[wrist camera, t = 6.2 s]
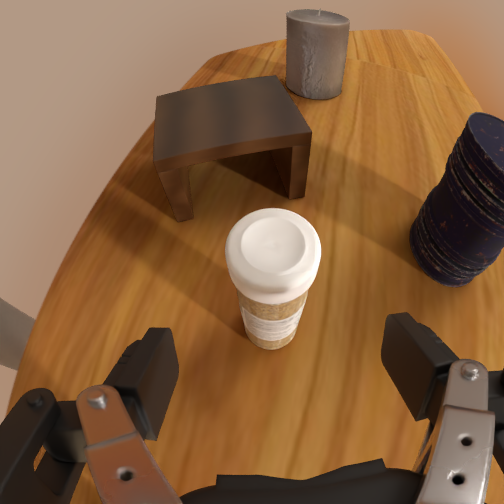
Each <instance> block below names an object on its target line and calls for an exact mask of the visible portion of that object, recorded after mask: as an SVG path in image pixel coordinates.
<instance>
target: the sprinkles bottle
mask: <svg viewBox="0 0 504 504" xmlns="http://www.w3.org/2000/svg"><path fill="white" fill-rule="evenodd" d="M225 256H226V262H227V266H228V270H229V274H230V277H231V279H232V282H233V283H234V285H235V286H236V288H237V294H238V298H239V305H240V310H241V314H242V317H243V321H244V324H245V331H246V334H247V336H248V337H249V339H250V340H251V341H252V342H253V343H254V344H255V345H256V346H258V347H261V348H263V349H268V350H273V349H278V348H281V347H283V346H285V345H287V344H288V343H289V342H290V341H291V340H292V339H293V337H294V335H295V333H296V329H297V324H298V322H299V319H300V317H301V313H302V310H303V307H304V304H305V301H306V298H307V294H308V288H309V287H310V286H311V284H312V283H313V281H314V279H315V277H316V273H317V270H318V267H319V262H320V258H321V245H320V240H319V237H318V235H317V233H316V231H315V229H314V228H313V227H312V225H311V224H310V223H309V222H308V221H307V220H306V219H304V218H303V217H301V216H300V215H298V214H296V213H294V212H292V211H288V210H285V209H278V208H267V209H261V210H258V211H254V212H252V213H250V214H248V215H246V216H244V217H243V218H242V219H240V220H239V221H238V222H237V223H236V224H235V225H234V226H233V228H232V229H231V231H230V233H229V235H228V237H227V240H226V245H225Z"/></svg>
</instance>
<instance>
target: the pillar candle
mask: <svg viewBox="0 0 504 504" xmlns="http://www.w3.org/2000/svg"><path fill="white" fill-rule="evenodd" d="M286 15H287V49H286V86H287V87H288V88H289V89H290V90H291V91H293V92H294V93H296V94H297V95H299V96H302V97H306V98H311V99H329V98H333V97H336V96H338V95H339V94H340V93H341V88H342V81H343V75H344V69H345V62H346V53H347V45H348V36H349V24H350V21H349V19H347V18H346V17H344V16H342V15H339V14H335V13H332V12H327V11H321V9H320V10H310V9H307V10H306V9H305V10H294V11H289V12H287V14H286Z"/></svg>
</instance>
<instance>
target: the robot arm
mask: <svg viewBox="0 0 504 504" xmlns="http://www.w3.org/2000/svg"><path fill="white" fill-rule="evenodd" d="M381 359H382V363H383V365H384V367H385V369H386V370H387V372H388V374H389V376H390V377H391V379H392V381H393V382H394V384H395V386H396V387H397V389H398V391H399V393H400V394H401V396H402V398H403V400H404V401H405V403H406V405H407V407H408V408H409V410H410V412H411V414H412V416H413V417H414V419H415V421H419V420H423V419H426V418H428V419H429V420H430V422H429V424H428V427H427V429H426V432H425V436H424V439H423V442H422V445H421V448H420V450H419V453H418V456H417V459H416V461H415V464H414V466H413V469H412V471H410V470H405V469H398V468H386V467H385V464H384V462H383V459H382V458H381V459H377V460H372V461H368V462H363V463H358V464H353V465H348V466H343V467H341V468H338V469H336V470H333V471H330V472H327V473H325V474H322V475H319V476H316V477H313V478H310V479H306V480H293V479H284V478H277V477H270V476H263V475H217V479H216V485H214V486H208V487H204V488H200V489H197V490H194V491H191V492H189V493H187V494H185V495H182V496H181V497H178V496H177V494H176V493H175V491H174V490H173V488H172V487H171V485H170V484H169V482H168V481H167V479H166V478H165V476H164V474H163V473H162V471H161V470H160V468H159V466H158V465H157V463H156V461H155V460H154V458H153V456H152V455H151V453H150V451H149V450H148V448H147V446H146V444H145V443H144V439H147V440H155V441H157V438H158V435H159V432H160V429H161V426H162V423H163V420H164V417H165V414H166V411H167V408H168V405H169V402H170V399H171V396H172V394H173V391H174V388H175V385H176V382H177V379H178V375H179V364H178V359H177V355H176V350H175V345H174V340H173V335H172V331H171V329H170V328H149V329H148V331H147V332H146V334H145V335H144V337H143V338H142V340H136V341H135V342H134V343H132V344H131V345H129V346H128V347H127V348H126V350H125V351H124V353H123V354H122V357H120V359H119V360H118V362H117V364H116V365H115V366H114V368H113V369H112V371H111V372H110V374H109V375H108V377H107V378H106V380H105V381H104V383H103V384H102V385H95V386H91V387H89V388H87V389H85V390H83V391H82V392H81V393H80V394H79V395H78V397H77V399H76V401H58V402H57V401H56V399H55V397H54V395H53V393H52V392H51V391H50V390H48V389H45V388H37V389H33V390H30V391H28V392H27V393H25V394H24V395H23V396H22V397H21V398H20V399H19V401H18V402H17V403H16V405H15V406H14V407H13V408H12V410H11V411H10V412H9V414H8V415H7V416H6V418H5V419H4V421H3V422H2V423H1V425H0V504H69V503H70V501H71V498H72V495H73V493H74V490H75V488H76V485H77V483H78V480H79V478H80V475H81V473H82V470H83V468H84V466H85V463H86V462H88V465H89V468H90V471H91V474H92V477H93V480H94V482H95V485H96V488H97V490H98V493H99V495H100V498H101V500H102V503H103V504H487V503H484V501H485V496H486V491H487V486H488V481H489V475H490V468H491V461H492V454H493V455H494V457H495V459H496V461H497V463H498V464H499V466H500V468H501V470H502V472H503V474H504V368H503V370H501V371H489V372H488V371H487V369H486V367H485V366H484V365H483V364H481V363H480V362H478V361H475V360H471V359H459V358H458V357H457V356H456V355H455V354H454V353H453V352H452V350H451V349H450V348H449V347H448V346H447V345H446V344H445V343H444V342H443V343H442V340H441V339H440V338H439V337H437V335H436V334H435V333H434V332H433V331H432V330H431V329H430V328H429V327H427V326H425V325H423V324H421V323H417V322H416V321H415V320H414V319H413V318H412V317H411V315H410V314H409V313H407V312H404V313H397V314H389V315H388V316H387V318H386V322H385V329H384V336H383V342H382V348H381ZM42 445H43V447H44V448H45V449H46V452H45V454H44V456H43V458H42V459H41V461H40V463H39V465H38V467H37V469H36V471H34V466H33V465H34V459H35V457H36V456H37V454H38V452H39V450H40V448H41V447H42Z"/></svg>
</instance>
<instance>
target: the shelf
mask: <svg viewBox="0 0 504 504" xmlns="http://www.w3.org/2000/svg"><path fill="white" fill-rule="evenodd" d="M311 138H312V131H311V129H310V128H309V126H308V124H307V123H306V121H305V119H304V118H303V116H302V114H301V113H300V111H299V110H298V108H297V107H296V105H295V103H294V102H293V100H292V99H291V97H290V96H289V94H288V93H287V91H286V90H285V88H284V87H283V85H282V84H281V82H280V81H279V79H278V78H277V76H276V75H274V76H265V77H256V78H248V79H241V80H234V81H228V82H222V83H216V84H211V85H205V86H200V87H195V88H191V89H186V90H182V91H177V92H173V93H169V94H165V95H161V96H157V99H156V112H155V128H154V149H153V162H154V165H155V168H156V170H157V173H158V175H159V178H160V180H161V183H162V185H163V188H164V190H165V193H166V195H167V198H168V200H169V203H170V205H171V208H172V210H173V212H174V215H175V217H176V220H177V222H181V221H185V220H190V219H194V217H193V209H192V200H191V191H190V182H189V172H188V166H189V165H194V164H198V163H203V162H208V161H212V160H217V159H222V158H227V157H233V156H238V155H243V154H249V153H255V152H261V151H267V150H270V152H271V155H272V157H273V160H274V162H275V165H276V167H277V170H278V172H279V175H280V177H281V180H282V183H283V185H284V188H285V190H286V193H287V196H288V198H289V199H294V198H300V197H304V196H305V188H306V180H307V172H308V164H309V156H310V147H311Z"/></svg>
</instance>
